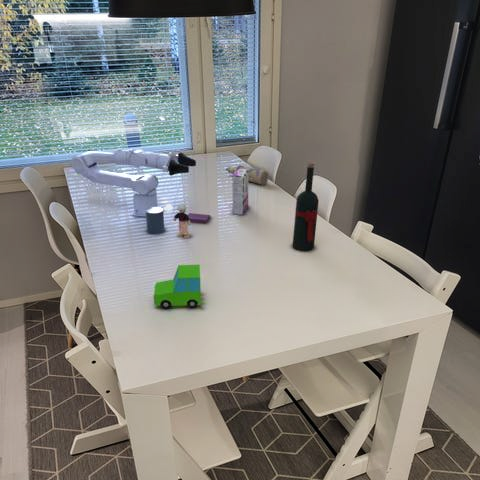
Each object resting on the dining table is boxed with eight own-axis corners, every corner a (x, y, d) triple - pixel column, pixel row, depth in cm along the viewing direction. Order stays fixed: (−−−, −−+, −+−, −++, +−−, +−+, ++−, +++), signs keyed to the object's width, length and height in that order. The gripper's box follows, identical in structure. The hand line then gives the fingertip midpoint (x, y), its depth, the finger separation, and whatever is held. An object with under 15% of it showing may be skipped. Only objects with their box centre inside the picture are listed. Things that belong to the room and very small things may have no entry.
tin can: (144, 233, 185) (142, 212, 180) (151, 227, 190) (149, 206, 186) (161, 235, 184) (159, 213, 179) (166, 228, 189) (165, 207, 185)
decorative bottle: (269, 183, 243) (269, 169, 239) (259, 186, 238) (259, 172, 234) (232, 172, 257) (232, 160, 254) (222, 175, 253) (222, 162, 249)
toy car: (156, 294, 145) (153, 264, 140) (200, 292, 146) (199, 263, 141) (154, 311, 136) (151, 280, 131) (201, 310, 137) (200, 279, 132)
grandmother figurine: (194, 235, 184) (193, 203, 177) (190, 239, 181) (189, 206, 174) (176, 232, 186) (174, 200, 179) (171, 236, 183) (169, 203, 176)
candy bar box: (237, 205, 213) (237, 168, 204) (248, 206, 212) (249, 169, 204) (231, 214, 204) (232, 175, 195) (243, 215, 203) (244, 176, 194)
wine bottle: (299, 255, 170) (306, 169, 154) (289, 243, 179) (295, 161, 163) (319, 253, 172) (329, 167, 156) (309, 241, 181) (317, 160, 164)
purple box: (184, 221, 196) (184, 218, 195) (189, 215, 202) (189, 212, 201) (205, 223, 194) (205, 220, 194) (210, 217, 200) (210, 214, 199)
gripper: (151, 157, 181) (185, 162, 179) (166, 145, 193) (198, 150, 190) (152, 175, 186) (185, 180, 183) (167, 163, 197) (198, 168, 194)
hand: (192, 166), depth 187 cm, fingers open, 7 cm apart
